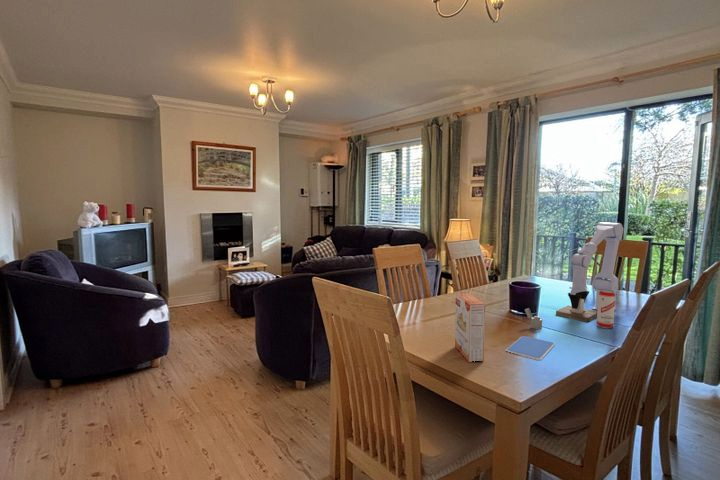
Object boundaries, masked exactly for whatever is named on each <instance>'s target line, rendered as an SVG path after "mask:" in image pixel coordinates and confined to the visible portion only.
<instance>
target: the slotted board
mask: <svg viewBox="0 0 720 480" xmlns="http://www.w3.org/2000/svg"><path fill="white" fill-rule="evenodd" d="M571 308H572V305H566V306H564V307H561V308H559V309H557V310H556V311H555V315H556V316H560V317H563V318H564V317H565V318H569V319H573V320H578V321H581V322H582V321H583V322H587V323H589V322H591V321H592V320H594V319H595V318H596V319H597V310H594V309H588V308H584V313H582V314H581V313H576V312H571Z"/></svg>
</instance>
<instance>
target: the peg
mask: <svg viewBox="0 0 720 480" xmlns="http://www.w3.org/2000/svg"><path fill="white" fill-rule="evenodd" d="M584 309H585V303H584V299H580V301H579V305H578V308H577V309H574V308H571V312H576V313H581V314H582V313H584Z"/></svg>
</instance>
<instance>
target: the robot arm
mask: <svg viewBox="0 0 720 480" xmlns="http://www.w3.org/2000/svg"><path fill="white" fill-rule="evenodd" d="M623 235H624V227H623V223H620V222H604V221H600V222H598V223H597V225H596V226H595V233H594V234H593V236H592V238H591V239H590V241H589V242H586V243H585V244H584V245H583V246H582V247H581V249H580V250H579V251H578V252H577V253H574V254H573V255H572V256H571V259H570V263H571V268H572V283H571V284H572V285H571V286H569V289H570V292H568V293H567V295H568V296H567V297H569V300H570V304H571V305H570V306H572V308H574V309H577V308H578V305H579V301H580V299H584V304H585V303H586V300H587V297H588V296H589V294H590V291H588V286H587V280H588V277H587V276H588V267H589V266H590V265H591V262H592V259H593V256H594V255H595V253H596V252H597V251H598V246H599V244H601V243H602V242H603V241H604V240H605V242H606V243H605V249H604V255H603V260H602V265H601V270H600V272H599V273H597V274H595V276H594V279H593V281H592V282H591V283H592V288H593V290H594V291H595V303H594V304H595V305H594V306H593V307H592V308H591V310H594V311H597V308H598V295H599V292H600V290H612V291H614V294H616V292H618V290H619V278H618V277H617V276H616V275H615V274H614V271H615V266H616V265H615V264H616V261H617V255H618V250H619V245H620V241H622V239H623ZM616 309H617V308H616V307H615V310H616Z"/></svg>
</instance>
